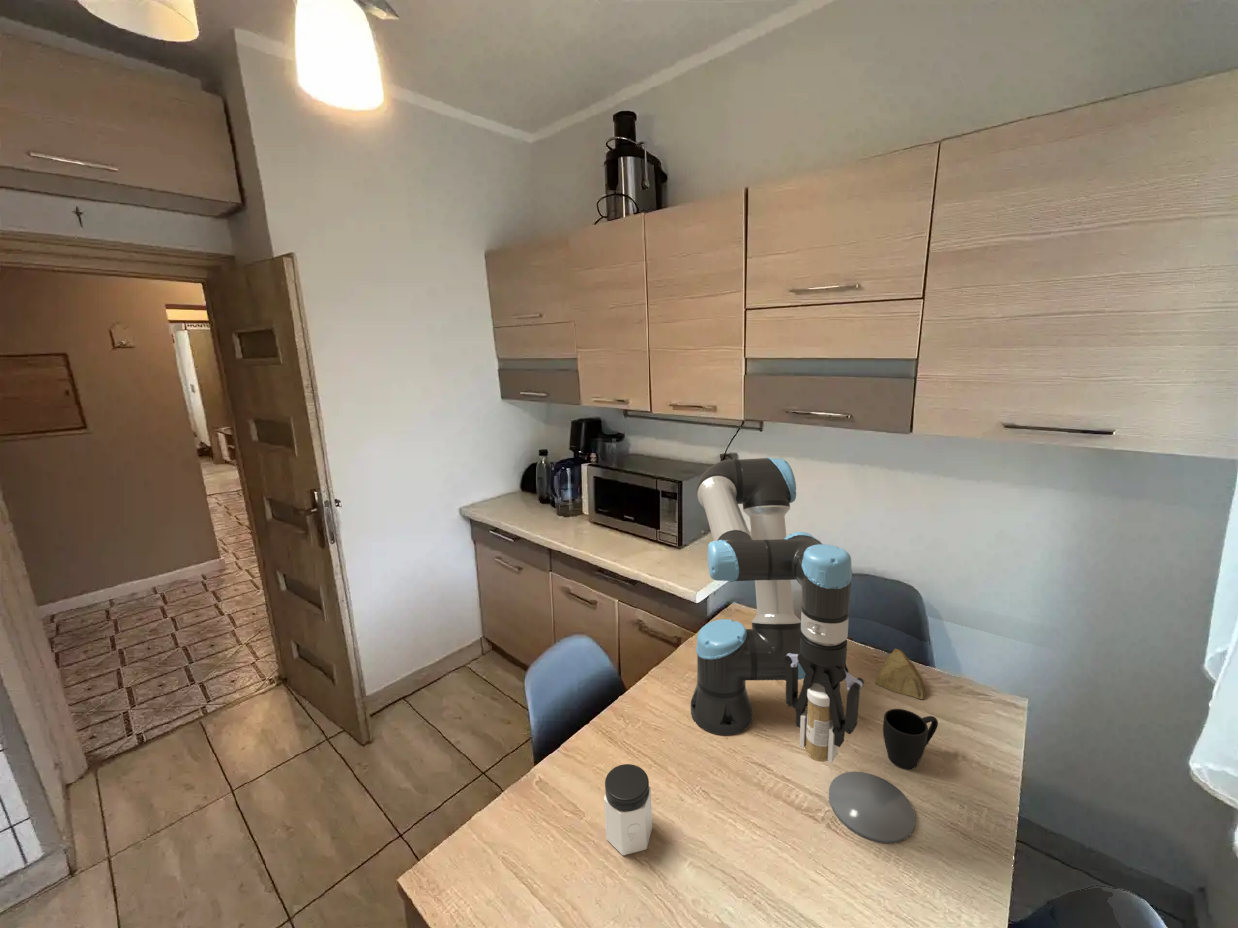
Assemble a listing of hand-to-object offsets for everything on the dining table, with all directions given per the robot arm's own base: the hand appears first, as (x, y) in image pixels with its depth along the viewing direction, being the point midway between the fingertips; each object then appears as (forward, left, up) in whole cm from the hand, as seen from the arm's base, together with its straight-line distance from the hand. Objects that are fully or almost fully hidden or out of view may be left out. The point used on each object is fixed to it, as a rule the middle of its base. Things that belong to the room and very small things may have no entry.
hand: (818, 749), depth 92 cm
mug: (+10, +28, -17) cm, 34 cm away
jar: (-26, -24, -17) cm, 39 cm away
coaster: (+7, +10, -17) cm, 21 cm away
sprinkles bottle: (0, 0, -1) cm, 1 cm away
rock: (+3, +51, -17) cm, 54 cm away
